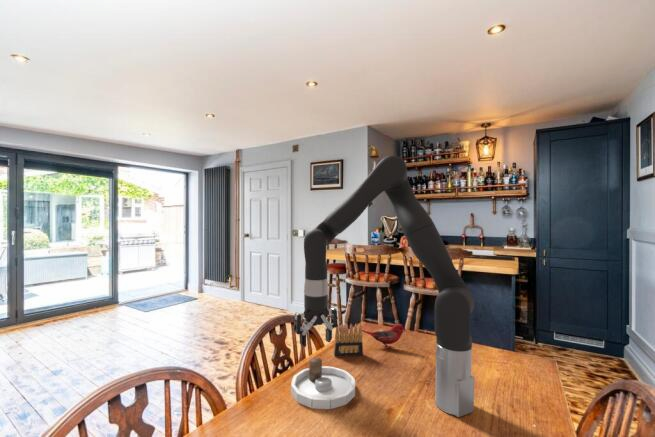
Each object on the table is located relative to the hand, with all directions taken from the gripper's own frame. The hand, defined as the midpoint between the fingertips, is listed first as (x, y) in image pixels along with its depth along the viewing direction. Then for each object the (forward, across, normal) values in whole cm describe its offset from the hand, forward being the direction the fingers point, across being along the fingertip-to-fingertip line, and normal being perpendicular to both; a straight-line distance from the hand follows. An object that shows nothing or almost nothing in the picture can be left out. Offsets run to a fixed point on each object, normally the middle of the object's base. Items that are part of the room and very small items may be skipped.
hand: (316, 343), depth 101 cm
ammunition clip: (+12, +19, +12) cm, 26 cm away
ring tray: (+12, 0, -5) cm, 13 cm away
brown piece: (+12, 0, +1) cm, 12 cm away
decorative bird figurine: (+12, +35, +12) cm, 39 cm away
